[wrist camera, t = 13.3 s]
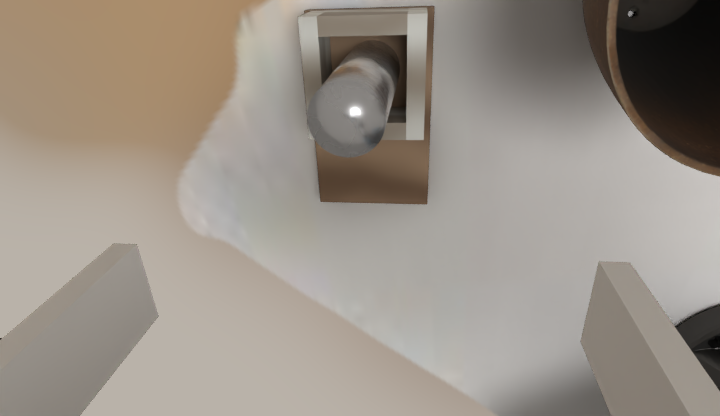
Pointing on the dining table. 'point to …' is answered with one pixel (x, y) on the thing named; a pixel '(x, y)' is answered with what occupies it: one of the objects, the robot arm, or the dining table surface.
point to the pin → (355, 100)
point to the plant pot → (664, 71)
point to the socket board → (408, 110)
